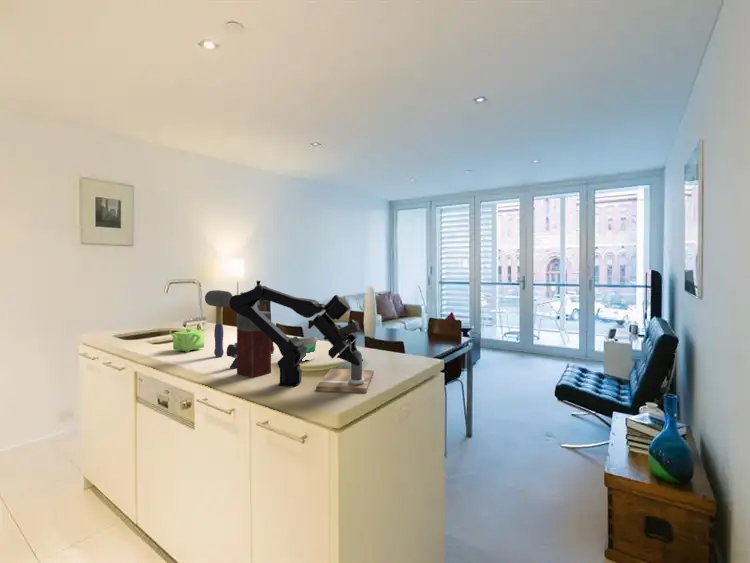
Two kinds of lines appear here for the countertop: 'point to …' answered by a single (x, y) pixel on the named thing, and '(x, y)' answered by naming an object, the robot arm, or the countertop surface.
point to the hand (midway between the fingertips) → (360, 363)
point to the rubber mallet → (218, 315)
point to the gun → (235, 354)
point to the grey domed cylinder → (356, 370)
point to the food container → (309, 343)
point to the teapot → (188, 340)
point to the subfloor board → (344, 381)
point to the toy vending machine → (253, 348)
